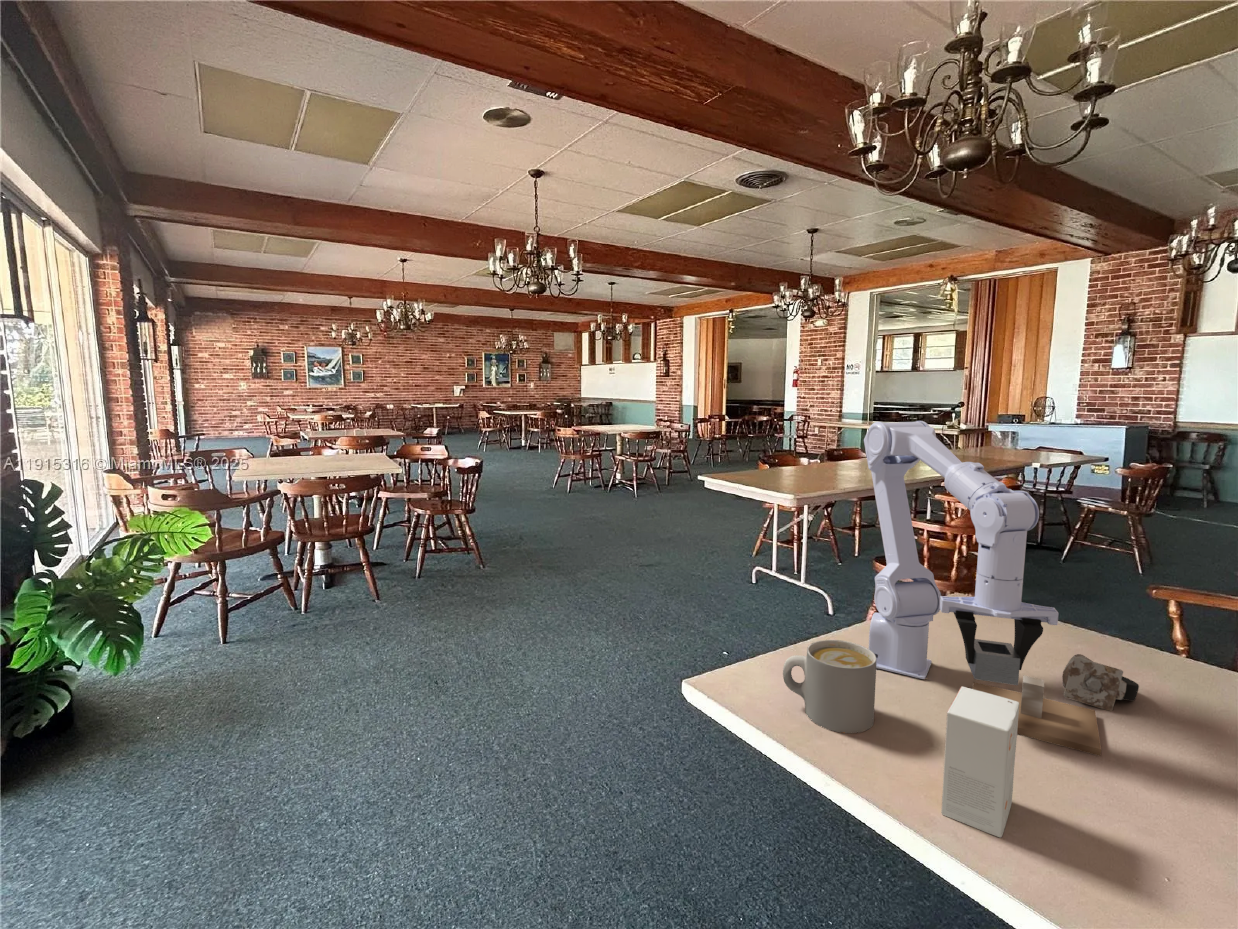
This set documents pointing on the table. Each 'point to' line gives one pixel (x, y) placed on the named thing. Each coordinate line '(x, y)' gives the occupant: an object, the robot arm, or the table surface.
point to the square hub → (995, 662)
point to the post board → (1050, 717)
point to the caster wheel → (1096, 683)
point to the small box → (980, 760)
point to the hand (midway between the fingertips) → (992, 663)
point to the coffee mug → (836, 684)
